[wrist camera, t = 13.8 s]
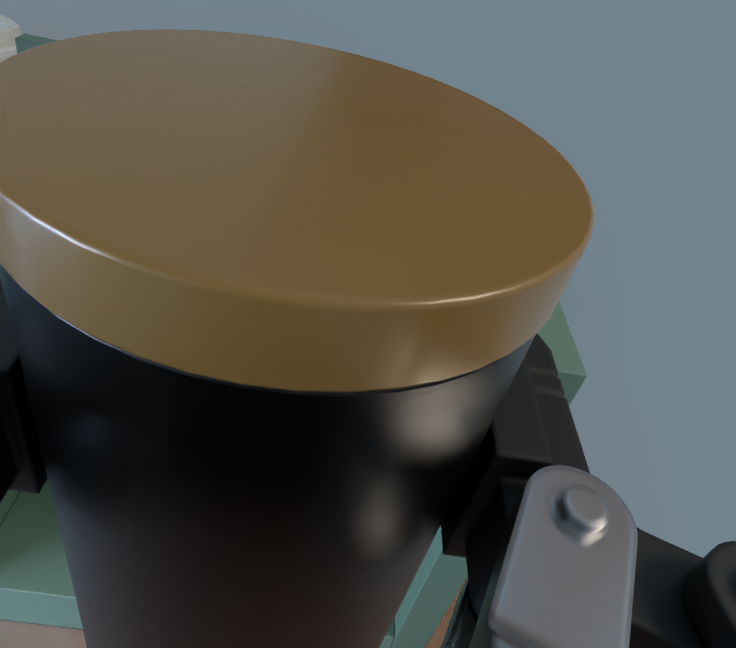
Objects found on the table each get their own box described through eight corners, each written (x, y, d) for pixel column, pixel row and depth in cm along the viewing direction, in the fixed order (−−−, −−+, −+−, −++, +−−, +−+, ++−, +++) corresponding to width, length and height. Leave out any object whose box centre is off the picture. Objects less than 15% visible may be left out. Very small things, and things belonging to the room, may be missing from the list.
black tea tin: (29, 764, 9) (-278, 193, 3) (147, 476, 14) (119, -2, 7) (371, 799, 10) (700, 374, 4) (379, 511, 14) (534, 93, 8)
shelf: (-56, 613, 25) (-297, 178, 13) (80, 387, 36) (23, 32, 24) (411, 670, 27) (608, 341, 15) (407, 439, 38) (517, 137, 26)
